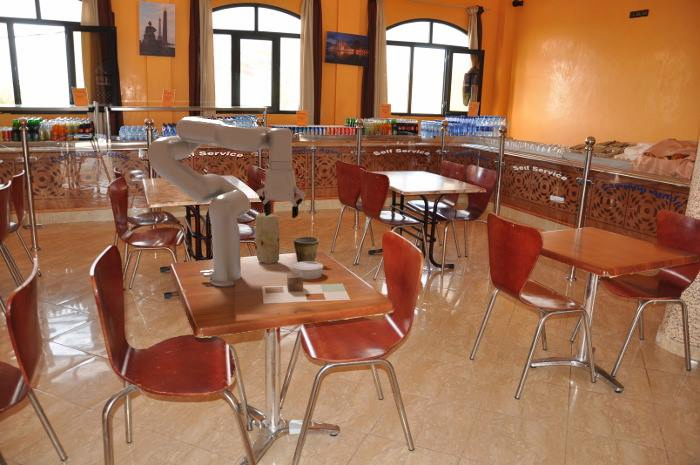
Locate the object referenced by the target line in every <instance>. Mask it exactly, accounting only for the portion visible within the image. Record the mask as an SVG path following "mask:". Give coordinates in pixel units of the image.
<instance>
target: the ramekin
mask: <svg viewBox="0 0 700 465" xmlns="http://www.w3.org/2000/svg"><path fill="white" fill-rule="evenodd" d="M323 269H324V264H322V263H320V262H317V261H315V262H311V261H303V262H295V263H294V264H292V270H293V273H302V275H303V280H315V279H318V278H321V277H322V274H323V271H324V270H323Z"/></svg>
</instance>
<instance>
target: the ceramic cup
mask: <svg viewBox="0 0 700 465" xmlns="http://www.w3.org/2000/svg"><path fill="white" fill-rule="evenodd" d="M319 241H320V240H319V238H317V237H314V236H299V237H298V236H297V237H295V238H293V246H294V250H295V256H296V261H297V262H303V261H311V262H316V258H317V252H318V248H319V243H320V242H319ZM297 262H296V263H297Z"/></svg>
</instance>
